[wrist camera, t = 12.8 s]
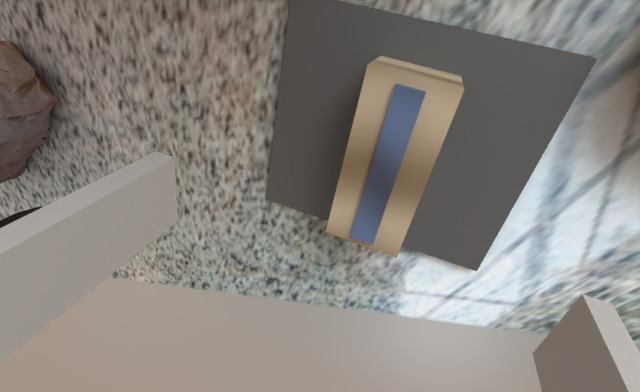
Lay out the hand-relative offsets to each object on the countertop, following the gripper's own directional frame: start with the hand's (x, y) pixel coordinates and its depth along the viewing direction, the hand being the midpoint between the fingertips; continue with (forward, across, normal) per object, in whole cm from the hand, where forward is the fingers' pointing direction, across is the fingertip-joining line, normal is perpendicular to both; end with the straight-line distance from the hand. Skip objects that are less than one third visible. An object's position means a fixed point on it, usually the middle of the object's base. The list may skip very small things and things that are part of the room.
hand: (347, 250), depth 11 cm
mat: (+12, 0, -1) cm, 13 cm away
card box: (+12, 0, -1) cm, 12 cm away
